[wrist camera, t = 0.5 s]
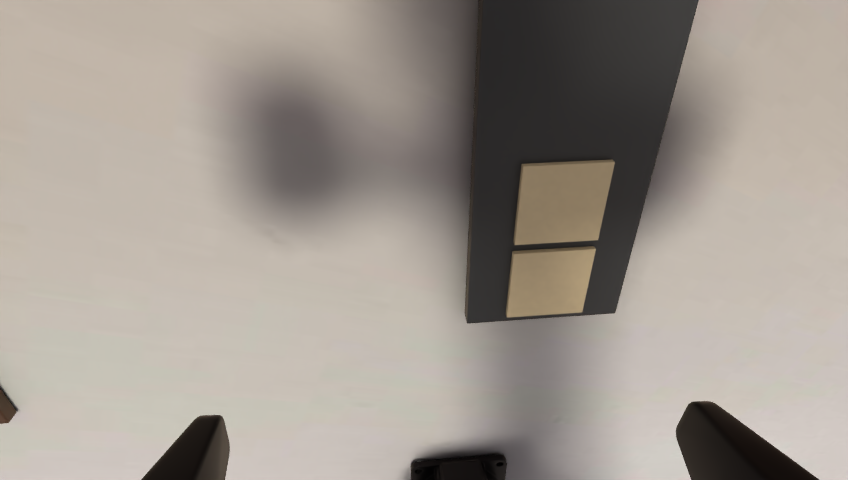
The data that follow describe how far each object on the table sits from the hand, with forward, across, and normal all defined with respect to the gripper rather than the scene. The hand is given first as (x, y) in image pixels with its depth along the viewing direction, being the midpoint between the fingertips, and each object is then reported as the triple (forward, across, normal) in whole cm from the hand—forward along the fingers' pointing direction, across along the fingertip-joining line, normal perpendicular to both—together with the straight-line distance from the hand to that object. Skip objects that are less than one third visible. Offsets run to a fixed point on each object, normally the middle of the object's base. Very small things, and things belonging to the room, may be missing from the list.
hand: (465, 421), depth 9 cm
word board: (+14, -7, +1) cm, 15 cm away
